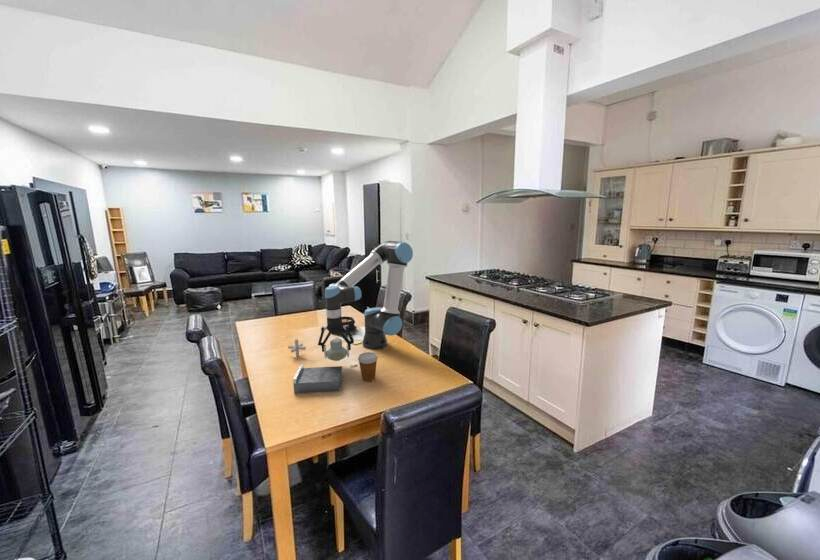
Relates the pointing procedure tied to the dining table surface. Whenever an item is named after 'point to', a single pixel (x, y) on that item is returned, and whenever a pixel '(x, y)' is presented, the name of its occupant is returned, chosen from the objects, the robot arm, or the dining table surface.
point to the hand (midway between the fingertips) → (337, 356)
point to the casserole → (349, 324)
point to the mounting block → (317, 379)
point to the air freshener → (336, 350)
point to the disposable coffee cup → (368, 366)
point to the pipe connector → (296, 347)
